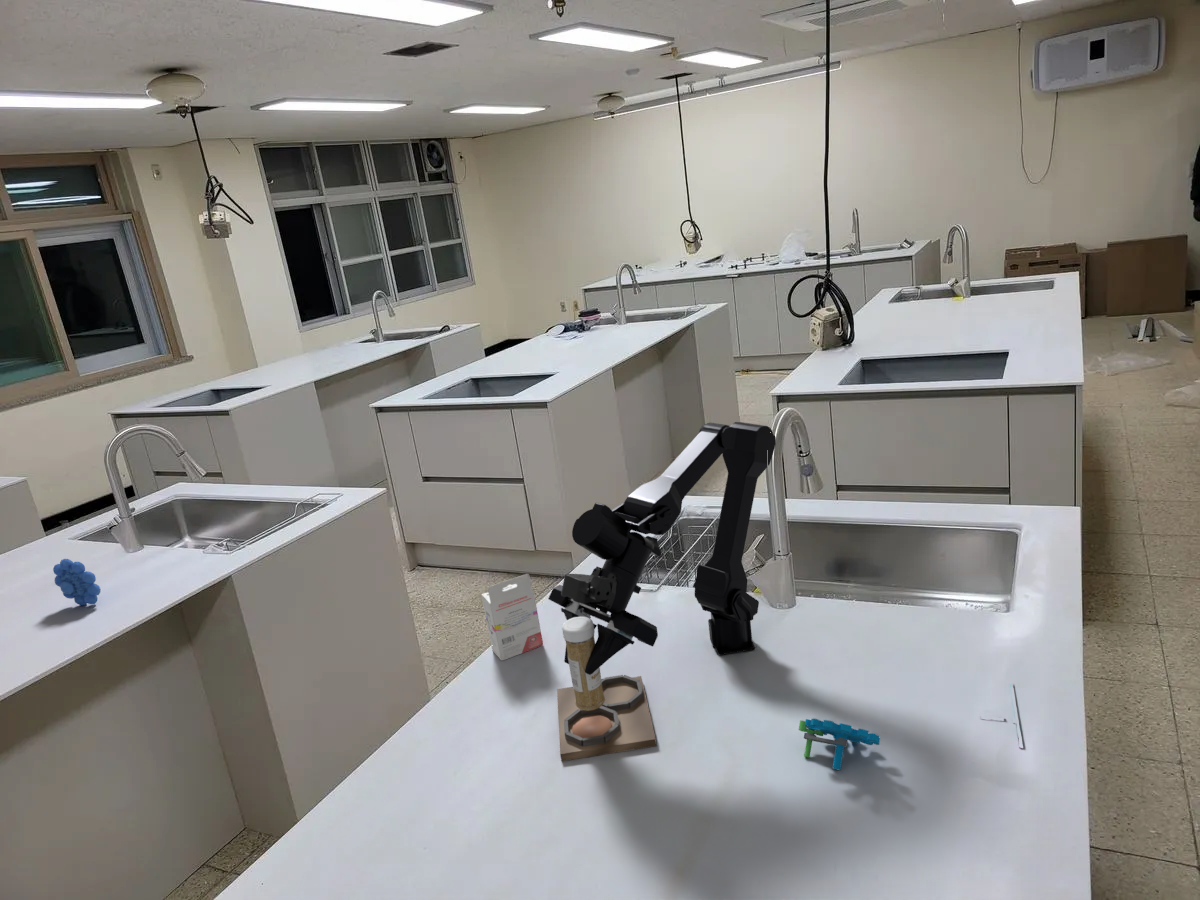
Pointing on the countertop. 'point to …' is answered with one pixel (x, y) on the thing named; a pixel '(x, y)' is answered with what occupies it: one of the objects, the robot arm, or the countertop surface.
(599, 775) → the countertop surface
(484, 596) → the ink cartridge box
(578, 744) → the board
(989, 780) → the countertop surface
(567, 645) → the sprinkles bottle
